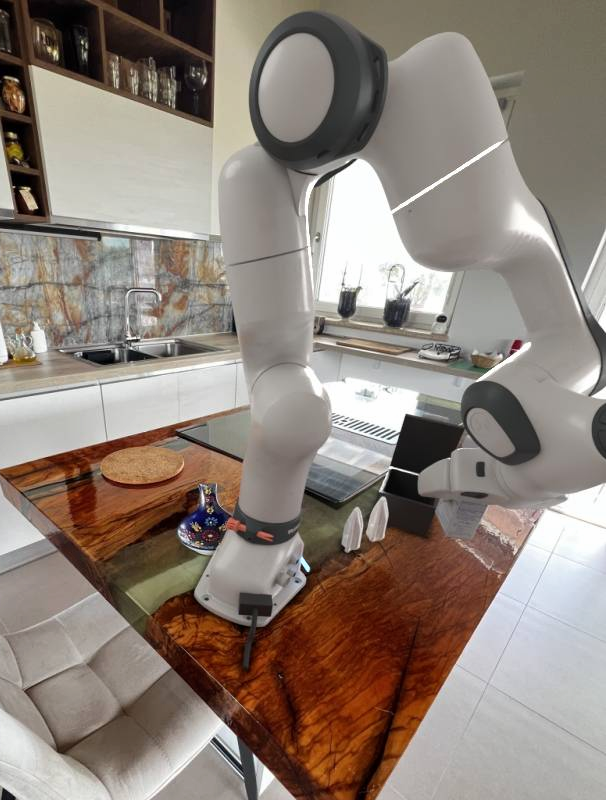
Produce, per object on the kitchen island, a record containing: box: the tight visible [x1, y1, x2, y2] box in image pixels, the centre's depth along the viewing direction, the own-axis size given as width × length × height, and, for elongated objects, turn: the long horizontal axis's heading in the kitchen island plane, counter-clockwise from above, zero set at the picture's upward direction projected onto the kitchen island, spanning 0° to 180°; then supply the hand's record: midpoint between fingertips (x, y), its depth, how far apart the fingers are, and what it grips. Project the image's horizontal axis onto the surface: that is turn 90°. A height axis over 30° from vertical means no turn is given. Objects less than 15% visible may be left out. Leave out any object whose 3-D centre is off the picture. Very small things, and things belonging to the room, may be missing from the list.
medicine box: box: [435, 499, 490, 541], centre depth 71 cm, size 8×4×9 cm, turn 169°
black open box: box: [373, 466, 440, 538], centre depth 101 cm, size 16×13×8 cm
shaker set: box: [341, 497, 388, 553], centre depth 88 cm, size 12×4×11 cm, turn 116°
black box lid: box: [389, 412, 466, 474], centre depth 99 cm, size 16×13×5 cm
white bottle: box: [461, 434, 480, 448], centre depth 139 cm, size 5×9×15 cm
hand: (461, 499), depth 71 cm, fingers closed on medicine box, 5 cm apart
